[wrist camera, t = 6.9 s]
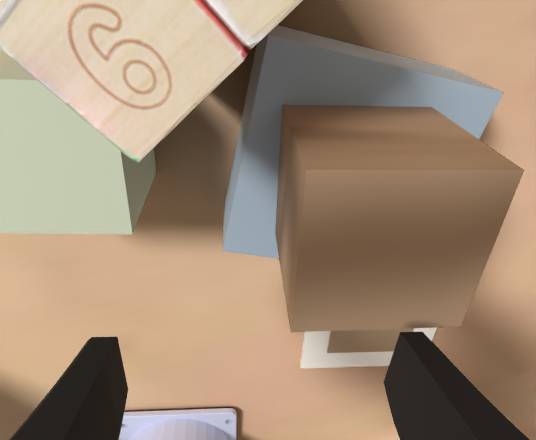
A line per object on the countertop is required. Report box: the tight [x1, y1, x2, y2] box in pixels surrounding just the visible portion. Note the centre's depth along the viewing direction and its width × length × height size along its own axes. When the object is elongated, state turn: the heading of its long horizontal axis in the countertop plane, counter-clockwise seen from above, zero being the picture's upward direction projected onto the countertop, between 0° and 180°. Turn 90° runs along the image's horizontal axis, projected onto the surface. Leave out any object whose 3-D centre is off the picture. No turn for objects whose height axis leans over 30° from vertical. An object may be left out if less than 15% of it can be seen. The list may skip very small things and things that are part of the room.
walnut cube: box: [275, 105, 524, 332], centre depth 12 cm, size 5×5×5 cm
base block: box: [223, 25, 503, 259], centre depth 16 cm, size 8×8×4 cm
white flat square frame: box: [300, 328, 437, 368], centre depth 24 cm, size 8×8×1 cm
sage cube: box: [0, 48, 156, 234], centre depth 14 cm, size 5×5×5 cm
